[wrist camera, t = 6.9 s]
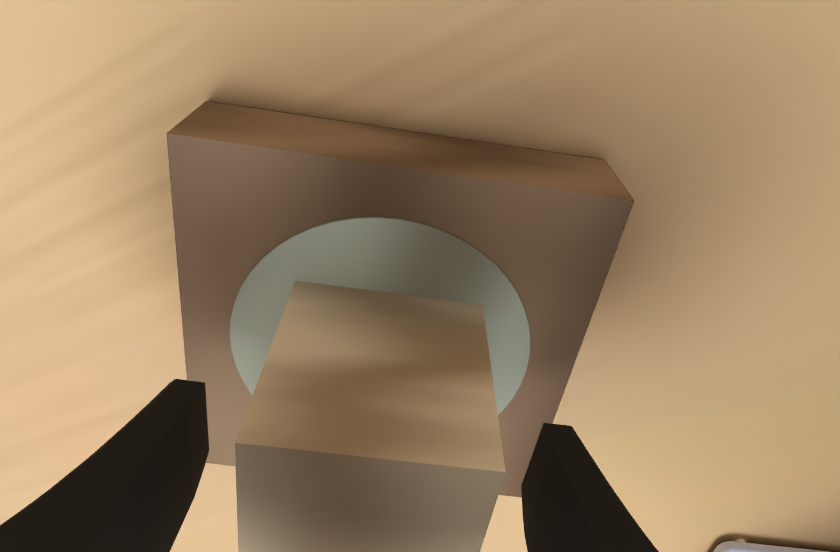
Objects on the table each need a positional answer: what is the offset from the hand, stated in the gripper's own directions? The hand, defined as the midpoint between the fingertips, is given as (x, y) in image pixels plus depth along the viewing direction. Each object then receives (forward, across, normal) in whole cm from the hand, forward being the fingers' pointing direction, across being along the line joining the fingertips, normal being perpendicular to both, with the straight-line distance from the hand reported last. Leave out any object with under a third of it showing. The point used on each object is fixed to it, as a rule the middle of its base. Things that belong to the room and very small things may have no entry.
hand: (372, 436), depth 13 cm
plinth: (+5, 0, 0) cm, 5 cm away
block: (+3, 0, 0) cm, 3 cm away
